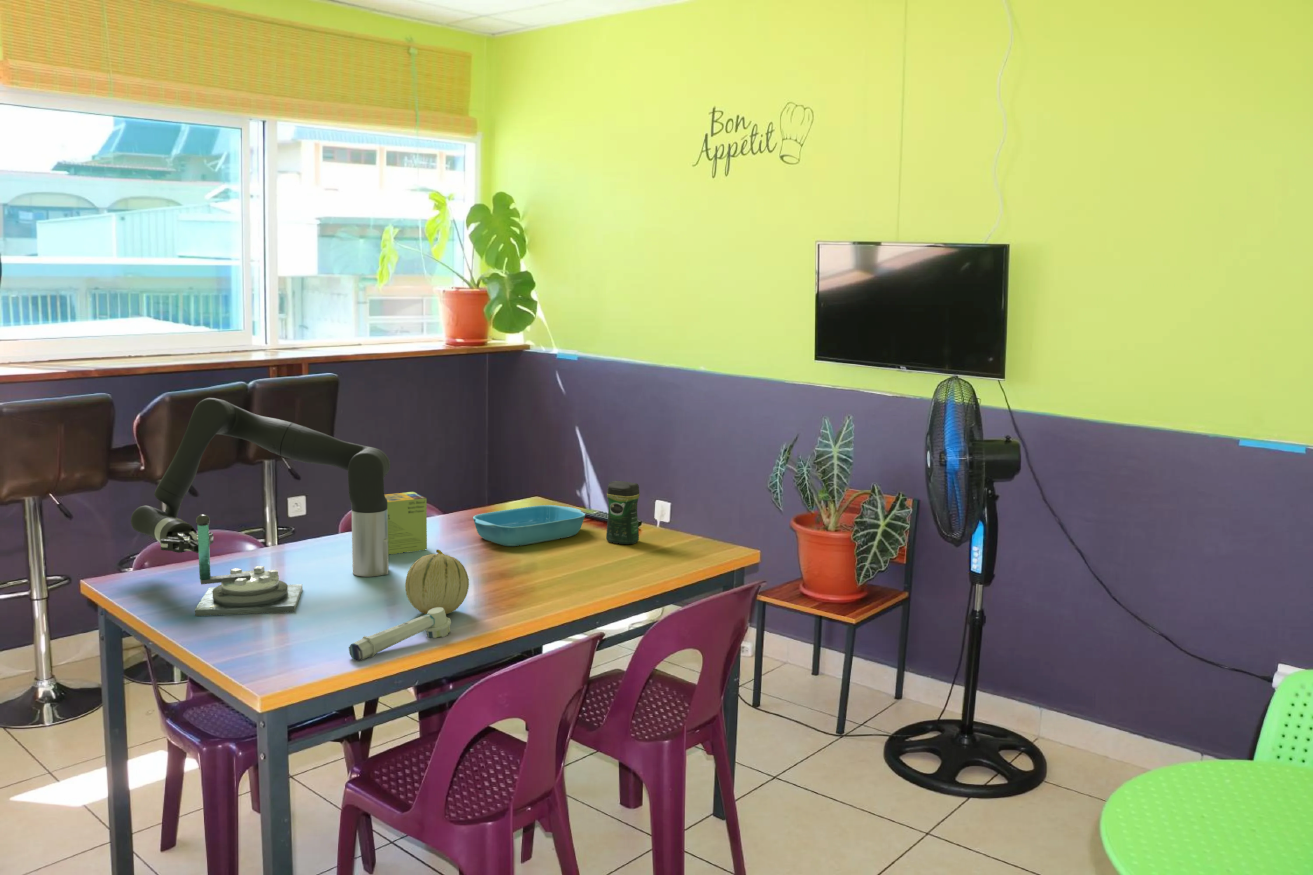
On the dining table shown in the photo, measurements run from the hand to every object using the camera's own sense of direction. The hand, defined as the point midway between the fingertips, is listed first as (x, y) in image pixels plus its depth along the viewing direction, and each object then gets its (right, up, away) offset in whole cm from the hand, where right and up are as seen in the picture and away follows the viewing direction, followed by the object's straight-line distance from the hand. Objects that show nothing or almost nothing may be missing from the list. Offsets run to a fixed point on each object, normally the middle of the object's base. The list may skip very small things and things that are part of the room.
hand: (200, 548), depth 257 cm
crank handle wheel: (+8, -10, +4) cm, 13 cm away
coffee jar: (+98, -6, +73) cm, 122 cm away
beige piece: (+53, -19, -21) cm, 60 cm away
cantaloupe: (+56, -16, 0) cm, 58 cm away
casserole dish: (+69, -5, +77) cm, 103 cm away
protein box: (+32, -6, +58) cm, 66 cm away
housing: (+10, -14, +5) cm, 18 cm away
